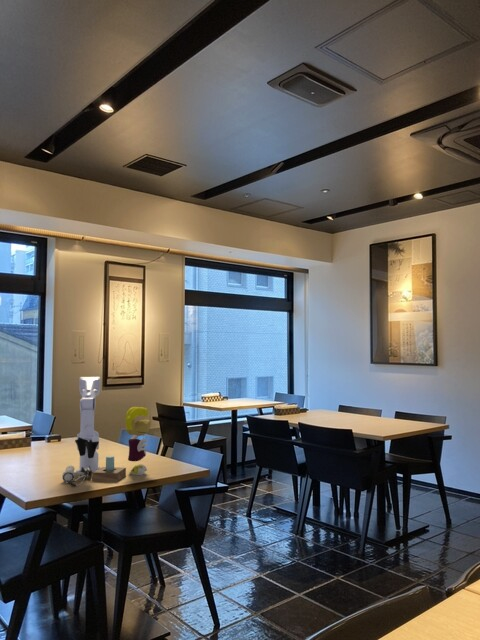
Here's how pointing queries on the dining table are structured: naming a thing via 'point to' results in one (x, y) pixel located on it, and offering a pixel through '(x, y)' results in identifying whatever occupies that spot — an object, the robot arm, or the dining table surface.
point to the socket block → (108, 474)
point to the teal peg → (110, 463)
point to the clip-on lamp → (70, 474)
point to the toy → (136, 429)
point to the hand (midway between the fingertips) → (86, 456)
